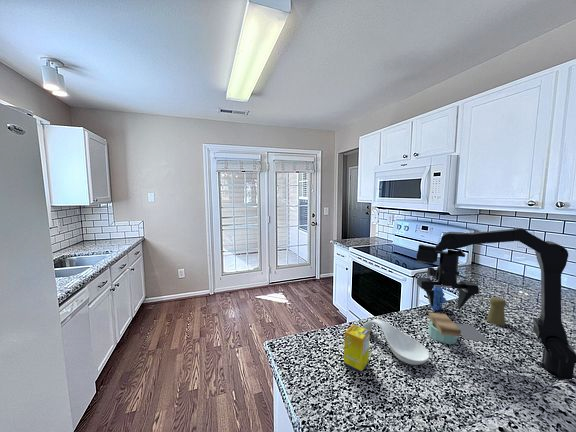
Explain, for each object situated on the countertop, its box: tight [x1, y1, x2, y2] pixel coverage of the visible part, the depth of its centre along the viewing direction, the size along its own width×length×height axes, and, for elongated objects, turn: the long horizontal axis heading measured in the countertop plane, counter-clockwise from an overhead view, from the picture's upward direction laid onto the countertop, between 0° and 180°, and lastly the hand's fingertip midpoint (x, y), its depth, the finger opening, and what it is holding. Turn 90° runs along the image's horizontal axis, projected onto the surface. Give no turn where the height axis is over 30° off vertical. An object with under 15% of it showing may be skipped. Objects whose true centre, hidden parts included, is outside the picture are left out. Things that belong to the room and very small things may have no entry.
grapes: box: [429, 287, 448, 312], centre depth 112 cm, size 12×7×12 cm, turn 126°
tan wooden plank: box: [428, 312, 462, 337], centre depth 91 cm, size 12×6×2 cm, turn 169°
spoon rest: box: [362, 318, 431, 366], centre depth 84 cm, size 24×12×7 cm, turn 32°
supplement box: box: [343, 324, 371, 374], centre depth 75 cm, size 6×6×11 cm
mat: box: [453, 322, 490, 343], centre depth 95 cm, size 12×8×1 cm, turn 169°
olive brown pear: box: [486, 296, 507, 327], centre depth 102 cm, size 6×6×11 cm
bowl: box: [427, 320, 459, 345], centre depth 91 cm, size 9×9×4 cm
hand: (444, 307), depth 90 cm, fingers open, 9 cm apart
